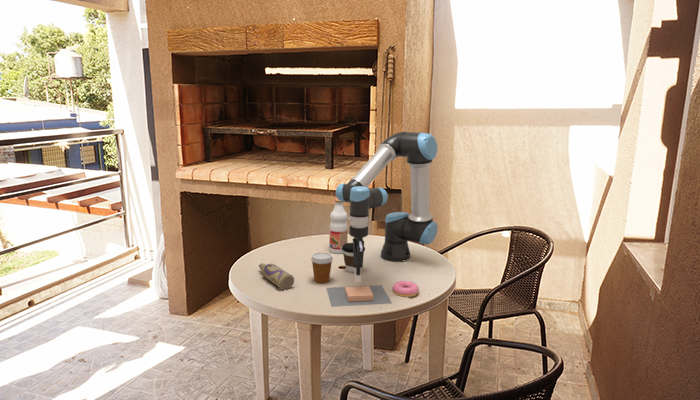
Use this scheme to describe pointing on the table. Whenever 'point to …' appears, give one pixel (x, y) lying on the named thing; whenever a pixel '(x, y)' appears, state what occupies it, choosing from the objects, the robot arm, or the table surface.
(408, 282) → the doughnut
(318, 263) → the disposable coffee cup
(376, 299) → the mat
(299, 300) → the table surface
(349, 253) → the coffee cup
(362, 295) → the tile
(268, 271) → the decorative bottle
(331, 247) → the fruit juice
